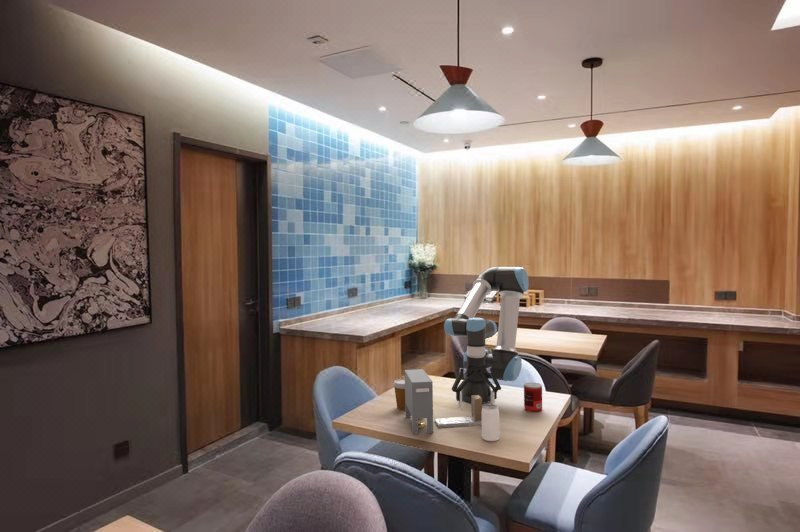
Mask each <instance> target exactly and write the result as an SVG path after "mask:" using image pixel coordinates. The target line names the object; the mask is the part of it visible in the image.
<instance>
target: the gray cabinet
mask: <svg viewBox="0 0 800 532" xmlns="http://www.w3.org/2000/svg"><path fill="white" fill-rule="evenodd" d="M404 379H405V410H404V412H405V413H404V415H405V416H406V417H405V418H406V419H411V433H412V435H419V428H418V421H419V419H426V432H427V434H433V433H434V395H433V389H434V388H433V387H434V386H433V380H432V379H431V378H430V377H429V375H428V374H427V372H426V371H425V369H423V368H422V369H420V368H418V369H417V368H416V369H405V370H404Z"/></svg>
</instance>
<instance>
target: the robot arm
mask: <svg viewBox="0 0 800 532" xmlns="http://www.w3.org/2000/svg"><path fill="white" fill-rule="evenodd" d="M529 280H530V279H529V276H528V273H527V271H526V269H525V268H524V267H521V266H493V267H492V266H491V267H489V268H487V269H485V270H484V271H482V272H481V273H480V274H479V275H477V277H476V278H475V279H474V280H473V282H472V288H471V289H470V292H469V293H468V295H467V297H466V298H465V299H464V301H463V303H462V305H461V306H460V308H459V310H458V311H457V312H456V314H455V316H454V317H451V318H447V319H446V320H445V321H444V325H443V327H444V332H445V334H446V335H448V336H454V337H466V351H465V352H464V353H463V368H462V367H459V369H458V374H457V376H456V378H455V380H454V383H453V384H452V387H451V390H452V392H455V399H456V401H457V402H458V409H459V410H462V411H463V402H466V401H468V402H467V403H471V396H472V395H479V396H480V397H481V398H482V404H483V402H485V403H489V402H490V404H492V405H496V403H495V400H497V397H498V396H497V393H498V392H499V391H501V390H502V387H501V385H500V383H499V381H504V382H508V381H509V382H515V381H516V380H517V379H518V378H519V376H520V373H521V370H522V365H523V364H522V358H521V357H520V355H519V352H518V351H517V349H516V344H517V343H516V342H517V334H518V333H517V331H518V323H519V322H518V321H519V310H520V300H521V298H523V297H524V293H526V292H528V290H529V288H530V287H529V286H530V285H529V284H530V283H529V282H530V281H529ZM493 291H498V294H499V296H500V297H501V298H500V310H499V319H498V326H497V323H496V322H495V321H494V320H492V319H484V318H483V317H475V316H476V315H477V313H478V311H479V309H480V308H481V306H482V304H483V302H484V300H485V298H486V297H487V296H488V295H490V294H491V292H493ZM496 333H497V338H496V346H495V347H493V348H492V353H490V352H489V349H488V348H486V339H490V338H492V337H493V336H494V335H496ZM462 379H463V380H462ZM490 379H491V380H492V381H493V383H494V384H493V383H492V382H491V381H490ZM461 380H462V381H461ZM463 400H464V401H463ZM488 401H489V402H488Z"/></svg>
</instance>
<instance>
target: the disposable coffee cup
mask: <svg viewBox="0 0 800 532" xmlns="http://www.w3.org/2000/svg"><path fill="white" fill-rule="evenodd" d="M392 385H393V387H394V395H395V401H396V408H397V410H401V411H402V410H403V411H405V378H400V379H395V380H394V382H393V383H392Z"/></svg>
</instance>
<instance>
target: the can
mask: <svg viewBox="0 0 800 532" xmlns="http://www.w3.org/2000/svg"><path fill="white" fill-rule="evenodd" d="M481 439H483V441H486V442H497V441H499V440H500V410H499V407H498V405H496V404H495V405H492V404H491V403H487V404H482V425H481Z"/></svg>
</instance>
